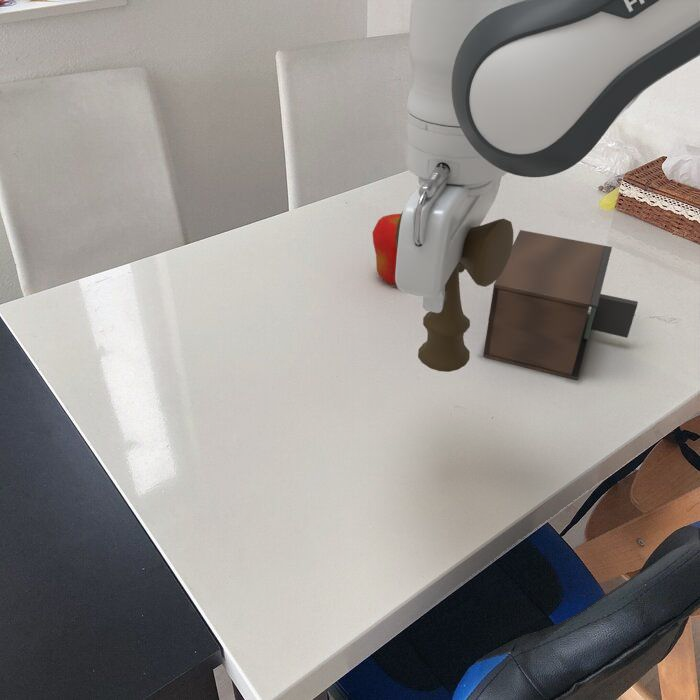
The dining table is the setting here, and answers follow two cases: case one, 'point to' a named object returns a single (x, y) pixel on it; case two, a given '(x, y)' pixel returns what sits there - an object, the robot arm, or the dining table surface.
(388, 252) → the apple
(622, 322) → the door
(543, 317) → the cabinet
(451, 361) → the kendama
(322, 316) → the dining table surface
